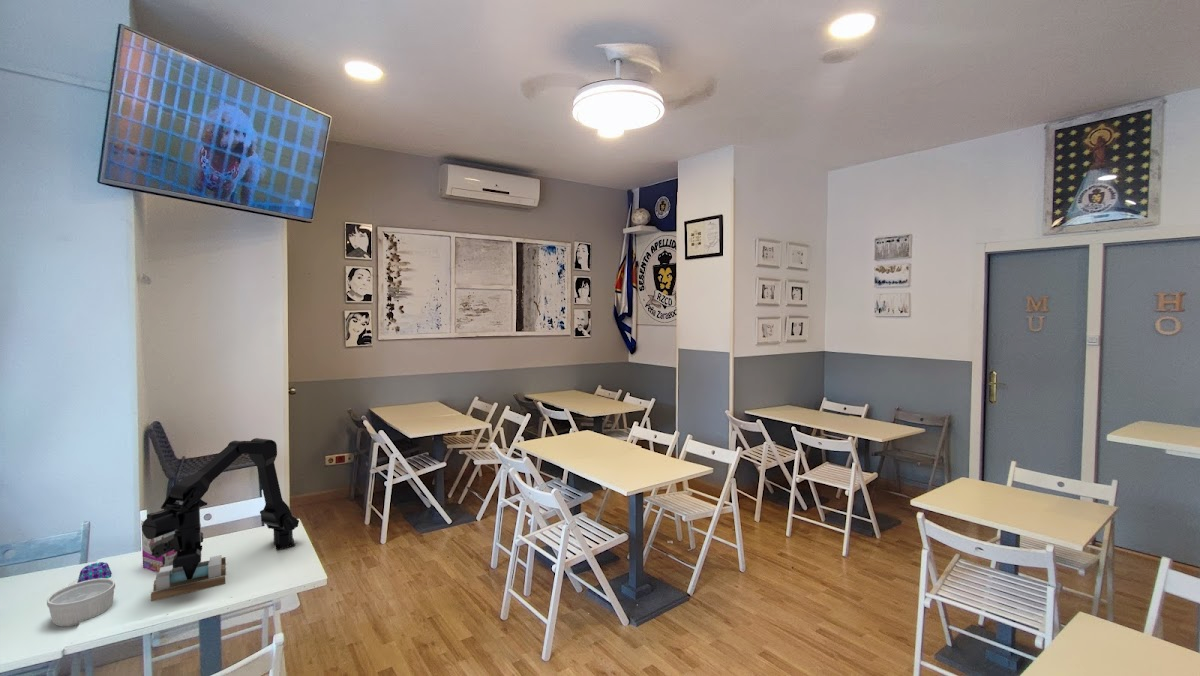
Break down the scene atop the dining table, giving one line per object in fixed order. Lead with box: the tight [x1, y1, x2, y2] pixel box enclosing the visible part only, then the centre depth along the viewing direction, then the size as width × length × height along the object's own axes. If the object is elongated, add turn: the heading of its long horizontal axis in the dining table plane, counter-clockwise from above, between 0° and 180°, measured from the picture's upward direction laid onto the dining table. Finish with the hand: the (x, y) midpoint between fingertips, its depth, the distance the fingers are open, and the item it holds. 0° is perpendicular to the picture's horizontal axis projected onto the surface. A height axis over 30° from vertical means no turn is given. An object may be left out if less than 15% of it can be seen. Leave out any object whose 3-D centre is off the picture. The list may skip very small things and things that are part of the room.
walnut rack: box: [150, 556, 227, 602], centre depth 161 cm, size 15×17×3 cm
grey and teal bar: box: [155, 559, 221, 591], centre depth 157 cm, size 15×4×4 cm, turn 125°
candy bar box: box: [140, 518, 177, 573], centre depth 168 cm, size 11×5×16 cm, turn 68°
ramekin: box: [46, 578, 116, 628], centre depth 144 cm, size 13×13×7 cm
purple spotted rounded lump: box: [67, 561, 113, 586], centre depth 161 cm, size 12×12×5 cm
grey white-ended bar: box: [159, 554, 223, 573], centre depth 164 cm, size 15×4×4 cm, turn 125°
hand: (189, 576), depth 157 cm, fingers closed on grey and teal bar, 3 cm apart
